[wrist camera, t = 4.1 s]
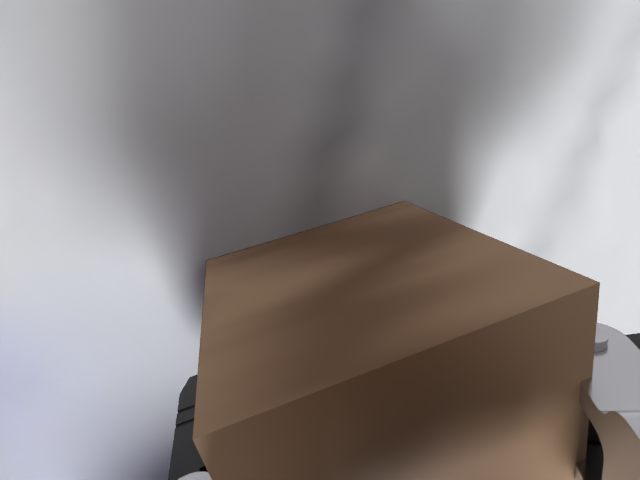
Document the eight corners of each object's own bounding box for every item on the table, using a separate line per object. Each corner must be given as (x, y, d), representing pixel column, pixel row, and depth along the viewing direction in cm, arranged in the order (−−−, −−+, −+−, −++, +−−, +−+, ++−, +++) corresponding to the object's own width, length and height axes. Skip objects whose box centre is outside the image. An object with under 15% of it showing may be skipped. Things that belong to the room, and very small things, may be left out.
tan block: (404, 201, 11) (600, 282, 5) (425, 358, 13) (580, 532, 7) (206, 260, 10) (192, 439, 4) (265, 420, 12) (306, 677, 6)
